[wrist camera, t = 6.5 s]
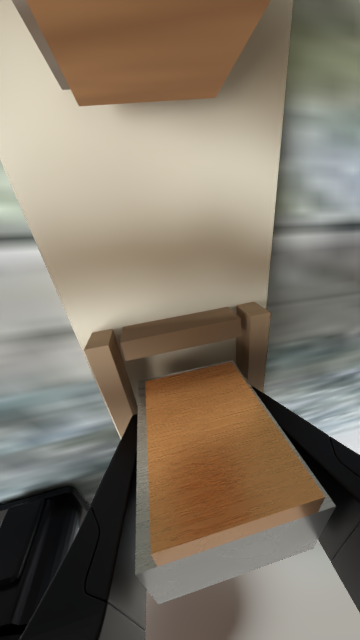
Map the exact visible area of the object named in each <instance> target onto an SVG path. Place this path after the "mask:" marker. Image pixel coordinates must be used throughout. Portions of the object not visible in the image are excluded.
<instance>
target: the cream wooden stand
mask: <svg viewBox="0 0 360 640" xmlns="http://www.w3.org/2000/svg"><path fill="white" fill-rule="evenodd" d="M292 12H293V0H0V160H1V163H2V165H3V167H4V170H5V172H6V174H7V177H8V179H9V181H10V184H11V186H12V188H13V191H14V193H15V195H16V197H17V200H18V202H19V204H20V207H21V209H22V211H23V214H24V216H25V218H26V221H27V223H28V225H29V228H30V230H31V232H32V235H33V237H34V239H35V242H36V244H37V246H38V249H39V251H40V253H41V256H42V258H43V260H44V263H45V265H46V267H47V269H48V272H49V274H50V276H51V279H52V281H53V283H54V286H55V288H56V290H57V293H58V295H59V297H60V300H61V302H62V304H63V307H64V309H65V311H66V314H67V316H68V318H69V321H70V323H71V325H72V328H73V330H74V332H75V335H76V337H77V339H78V341H79V344H80V346H81V348H82V351H83V353H84V355H85V358H86V360H87V362H88V365H89V367H90V369H91V372H92V374H93V376H94V379H95V381H96V383H97V386H98V388H99V390H100V393H101V395H102V397H103V400H104V402H105V404H106V407H107V409H108V411H109V413H110V416H111V418H112V420H113V423H114V425H115V427H116V430H117V432H118V434H119V437H120V439H121V438H122V436H123V434H124V432H125V430H126V428H127V426H128V423H129V421H130V419H131V417H132V415H134V414H138V381H141V380H146V379H150V378H155V377H159V376H163V375H168V374H172V373H177V372H181V371H186V370H190V369H195V368H199V367H203V366H208V365H212V364H217V363H221V362H226V361H230V360H233V361H234V363H235V364H236V365H237V367H238V368H239V370H240V371H241V373H242V374H243V375H244V377H245V378H246V380H247V381H248V382H249V384H250V385H251V386H253V387H255V388H256V389H258V390H260V391H261V392H263V386H264V376H265V367H266V357H267V347H268V337H269V328H270V318H271V312H270V311H268V310H266V305H267V293H268V282H269V271H270V260H271V248H272V237H273V226H274V214H275V203H276V192H277V181H278V169H279V158H280V147H281V136H282V124H283V113H284V102H285V90H286V79H287V68H288V57H289V45H290V34H291V23H292Z"/></svg>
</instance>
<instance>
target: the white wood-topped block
mask: <svg viewBox="0 0 360 640" xmlns="http://www.w3.org/2000/svg"><path fill="white" fill-rule="evenodd" d="M335 507H336V505H335V504H334V503H333V501H332V500H331V498H330V497H329V495H328V494H327V493H326V491H325V490H324V488H323V487H322V486H321V484H320V483H319V481H318V480H317V479H316V477H315V476H314V474H313V473H312V471H311V470H310V469H309V467H308V466H307V464H306V463H305V462H304V460H303V459H302V457H301V456H300V454H299V453H298V452H297V450H296V449H295V447H294V446H293V445H292V443H291V442H290V440H289V439H288V438H287V436H286V435H285V433H284V432H283V430H282V429H281V428H280V426H279V425H278V423H277V422H276V421H275V419H274V418H273V416H272V415H271V413H270V412H269V411H268V409H267V408H266V406H265V405H264V404H263V402H262V401H261V399H260V398H259V397H258V395H257V394H256V392H255V391H254V389H253V388H252V387H251V385H250V384H249V382H248V381H247V380H246V378H245V377H244V375H243V374H242V373H241V371H240V370H239V368H238V367H237V365H236V364H235V363H234V361H233V360H230V361H226V362H221V363H217V364H212V365H208V366H203V367H199V368H195V369H190V370H186V371H181V372H177V373H172V374H168V375H163V376H159V377H155V378H150V379H146V380H141V381H138V422H137V486H136V550H135V575H136V576H137V577H138V579H139V580H140V581H141V583H142V584H143V585H144V586H145V588H146V589H147V590H148V592H149V593H150V594H151V595H152V597H153V598H154V599H155V601H156V602H157V603H158V604H161V603H164V602H167V601H169V600H172V599H175V598H178V597H180V596H183V595H186V594H189V593H191V592H194V591H197V590H200V589H202V588H205V587H208V586H211V585H213V584H216V583H219V582H222V581H224V580H227V579H230V578H232V577H236V576H238V575H241V574H244V573H247V572H249V571H252V570H255V569H258V568H260V567H263V566H266V565H269V564H272V563H274V562H277V561H280V560H283V559H285V558H288V557H291V556H293V555H296V554H299V553H302V552H305V551H307V550H310V549H313V548H314V546H315V544H316V542H317V540H318V538H319V537H320V535H321V533H322V531H323V529H324V527H325V526H326V524H327V522H328V520H329V518H330V516H331V515H332V513H333V511H334V509H335Z"/></svg>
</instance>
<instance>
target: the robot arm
mask: <svg viewBox="0 0 360 640" xmlns="http://www.w3.org/2000/svg"><path fill="white" fill-rule="evenodd" d="M251 387H252V388H253V389H254V391H255V392H256V394H257V395H258V397H259V398H260V399H261V401H262V402H263V404H264V405H265V406H266V408H267V409H268V411H269V412H270V413H271V415H272V416H273V418H274V419H275V421H276V422H277V423H278V425H279V426H280V428H281V429H282V430H283V432H284V433H285V435H286V436H287V438H288V439H289V440H290V442H291V443H292V445H293V446H294V447H295V449H296V450H297V452H298V453H299V454H300V456H301V457H302V459H303V460H304V462H305V463H306V464H307V466H308V467H309V469H310V470H311V471H312V473H313V474H314V476H315V477H316V479H317V480H318V481H319V483H320V484H321V486H322V487H323V488H324V490H325V491H326V493H327V494H328V495H329V497H330V498H331V500H332V501H333V503H334V504H335V505H336V507H335V509H334V511H333V513H332V515H331V516H330V518H329V520H328V522H327V524H326V526H325V527H324V529H323V531H322V533H321V535H320V537H319V538H318V540H319V542H320V544H321V545H322V547H323V549H324V550H325V552H326V554H327V556H328V558H329V559H330V561H331V563H332V565H333V567H334V568H335V570H336V572H337V574H338V575H339V577H340V579H341V581H342V582H343V584H344V586H345V588H346V589H347V591H348V593H349V595H350V596H351V598H352V600H353V602H354V603H355V605H356V607H357V609H358V610H359V612H360V455H359V454H357V453H355V452H354V451H352V450H351V449H349V448H347V447H346V446H344V445H343V444H341V443H340V442H338V441H336V440H335V439H333V438H332V437H329V436H328V435H327V434H326V433H324V432H323V431H321V430H319V429H318V428H316V427H315V426H313V425H312V424H310V423H309V422H307V421H306V420H304V419H303V418H301V417H299V416H298V415H296V414H295V413H293V412H292V411H290V410H289V409H287V408H286V407H284V406H283V405H281V404H280V403H278V402H276V401H275V400H273V399H272V398H270V397H269V396H267V395H266V394H264V393H263V392H261V391H260V390H258V389H256V388H255V387H253V386H251ZM137 422H138V414H134V415H132V417H131V419H130V421H129V423H128V426H127V428H126V430H125V432H124V434H123V436H122V438H121V441H120V443H119V445H118V447H117V449H116V451H115V454H114V456H113V458H112V460H111V462H110V464H109V466H108V469H107V471H106V473H105V475H104V477H103V479H102V482H101V484H100V486H99V488H98V490H97V492H96V494H95V497H94V499H93V501H92V503H91V506H92V507H91V506H90V507H88V505H87V504H86V503H85V502H84V500H83V499H82V498H81V496H80V495H79V494H78V492H77V491H76V490H75V488H73V487H66V488H62V489H58V490H55V491H51V492H47V493H44V494H40V495H37V496H33V497H29V498H26V499H22V500H18V501H15V502H11V503H8V504H4V505H0V640H145V636H146V632H145V629H146V588H145V586H144V585H143V584H142V583H141V581H140V580H139V579H138V577H137V576H136V575H135V550H136V486H137Z"/></svg>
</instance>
